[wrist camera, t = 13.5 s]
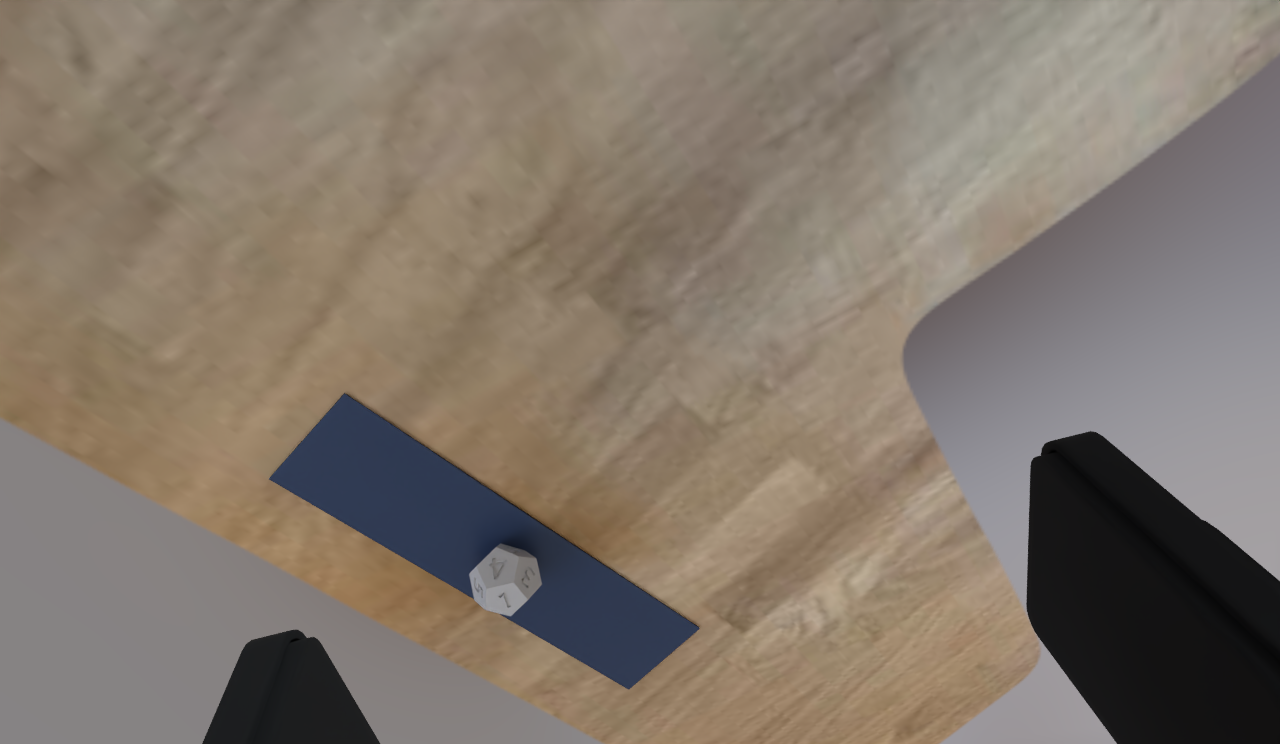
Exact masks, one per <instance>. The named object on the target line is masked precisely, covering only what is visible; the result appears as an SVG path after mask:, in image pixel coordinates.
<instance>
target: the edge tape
mask: <svg viewBox="0 0 1280 744" xmlns="http://www.w3.org/2000/svg"><path fill="white" fill-rule="evenodd" d="M269 479H270V480H271V481H273V482H275V483H277V484H278V485H280V486H282V487H283V488H285V489H287V490H289V491H290V492H292V493H294V494H295V495H297V496H299V497H301V498H302V499H304V500H306V501H307V502H309V503H311V504H312V505H314V506H316V507H318V508H319V509H321V510H323V511H324V512H326V513H328V514H330V515H331V516H333V517H335V518H336V519H338V520H340V521H342V522H343V523H345V524H347V525H348V526H350V527H352V528H354V529H355V530H357V531H359V532H360V533H362V534H364V535H365V536H367V537H369V538H371V539H372V540H374V541H376V542H377V543H379V544H381V545H383V546H384V547H386V548H388V549H389V550H391V551H393V552H395V553H396V554H398V555H400V556H401V557H403V558H405V559H407V560H408V561H410V562H412V563H413V564H415V565H417V566H419V567H420V568H422V569H424V570H425V571H427V572H429V573H430V574H432V575H434V576H436V577H437V578H439V579H441V580H442V581H444V582H446V583H448V584H449V585H451V586H453V587H454V588H456V589H458V590H460V591H461V592H463V593H465V594H466V595H468V596H470V597H472V598H473V599H474V596H473V591H472V586H471V581H470V576H469V574H470V572H471V571H472V570H473V569H474V568H475V567H476V566H477V565H478V564H479V563H480V562H481V561H482V560H483V559H484V558H485V557H486V556H487V555H489V554H490V553H491V552H492V551H493V550H494V549H495V548H496V547H497V546H498V545H499V544H500V543H501V544H504V545H508V546H511V547H515V548H518V549H522V550H525V551H526V552H528V553H529V554H531V555H532V556H534V557H535V558H536V559H537V563H538V568H539V573H540V577H541V582H542V585H541V586H540V587H539V588H538V589H537V591H536V592H535V593H534V594H533V595H532V596H531V597H530V598H529V600H528V601H526V602H525V603H524V604H523V605H522V606H521V607H520V608H519V609H518V610H517V611H516V612H515V613H514V614H513V615H512V616H507V615H503V614H501V615H502V616H504V617H506V618H507V619H509V620H511V621H513V622H514V623H516V624H518V625H519V626H521V627H523V628H525V629H526V630H528V631H530V632H531V633H533V634H535V635H536V636H538V637H540V638H542V639H543V640H545V641H547V642H548V643H550V644H552V645H554V646H555V647H557V648H559V649H560V650H562V651H564V652H566V653H567V654H569V655H571V656H572V657H574V658H576V659H578V660H579V661H581V662H583V663H584V664H586V665H588V666H590V667H591V668H593V669H595V670H596V671H598V672H600V673H601V674H603V675H605V676H607V677H608V678H610V679H612V680H613V681H615V682H617V683H619V684H620V685H622V686H624V687H625V688H627V689H630V688H631V687H632V686H633V685H635V684H636V683H637V682H638V681H639V680H640V679H642V678H643V677H644V676H645V675H646V674H647V673H649V672H650V671H651V670H652V669H653V668H654V667H656V666H657V665H658V664H659V663H660V662H661V661H663V660H664V659H665V658H666V657H667V656H668V655H670V654H671V653H672V652H673V651H674V650H675V649H676V648H678V647H679V646H680V645H681V644H682V643H683V642H685V641H686V640H687V639H688V638H689V637H690V636H692V635H693V634H694V633H695V632H696V631H697V630H699V627H697V626H696V625H694V624H693V623H691V622H690V621H688V620H687V619H685V618H684V617H682V616H681V615H679V614H678V613H676V612H675V611H673V610H672V609H670V608H669V607H667V606H666V605H664V604H663V603H661V602H660V601H658V600H657V599H655V598H654V597H652V596H651V595H649V594H647V593H646V592H644V591H643V590H641V589H640V588H638V587H637V586H635V585H634V584H632V583H631V582H629V581H628V580H626V579H625V578H623V577H622V576H620V575H619V574H617V573H616V572H614V571H613V570H611V569H610V568H608V567H607V566H605V565H604V564H602V563H601V562H599V561H598V560H596V559H595V558H593V557H591V556H590V555H588V554H587V553H585V552H584V551H582V550H581V549H579V548H578V547H576V546H575V545H573V544H572V543H570V542H569V541H567V540H566V539H564V538H563V537H561V536H560V535H558V534H557V533H555V532H554V531H552V530H551V529H549V528H548V527H546V526H545V525H543V524H542V523H540V522H539V521H537V520H535V519H534V518H532V517H531V516H529V515H528V514H526V513H525V512H523V511H522V510H520V509H519V508H517V507H516V506H514V505H513V504H511V503H510V502H508V501H507V500H505V499H504V498H502V497H501V496H499V495H498V494H496V493H495V492H493V491H492V490H490V489H489V488H487V487H486V486H484V485H483V484H481V483H479V482H478V481H476V480H475V479H473V478H472V477H470V476H469V475H467V474H466V473H464V472H463V471H461V470H460V469H458V468H457V467H455V466H454V465H452V464H451V463H449V462H448V461H446V460H445V459H443V458H442V457H440V456H439V455H437V454H436V453H434V452H433V451H431V450H430V449H428V448H427V447H425V446H423V445H422V444H420V443H419V442H417V441H416V440H414V439H413V438H411V437H410V436H408V435H407V434H405V433H404V432H402V431H401V430H399V429H398V428H396V427H395V426H393V425H392V424H390V423H389V422H387V421H386V420H384V419H383V418H381V417H380V416H378V415H377V414H375V413H374V412H372V411H371V410H369V409H368V408H366V407H364V406H363V405H361V404H360V403H358V402H357V401H355V400H354V399H352V398H351V397H349V396H348V395H346V394H345V393H344V394H343V395H342V397H341V398H340V399H339V400H338V401H337V402H336V403H335V405H334V406H333V407H332V408H331V409H330V410H329V411H328V412H327V414H326V415H325V416H324V417H323V418H322V419H321V420H320V421H319V423H318V424H317V425H316V426H315V427H314V428H313V429H312V431H311V432H310V433H309V434H308V435H307V436H306V437H305V438H304V440H303V441H302V442H301V443H300V444H299V445H298V446H297V448H296V449H295V450H294V451H293V452H292V453H291V454H290V455H289V457H288V458H287V459H286V460H285V461H284V462H283V463H282V464H281V466H280V467H279V468H278V469H277V470H276V471H275V472H274V474H273V475H272V476H271V477H270V478H269Z"/></svg>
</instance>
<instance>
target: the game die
mask: <svg viewBox="0 0 1280 744" xmlns="http://www.w3.org/2000/svg"><path fill="white" fill-rule="evenodd" d="M469 576H470V581H471V586H472V591H473V596H474V600H475V601H476V602H477V603H478V604H479V605H480V606H481V607H483V608H484V609H485V610H487V611H491V612H495V613H499V614H503V615H507V616H512V615H513V614H514V613H515V612H516V611H517V610H518V609H519V608H520V607H521V606H522V605H523V604H524V603H525V602H526V601H528V600H529V598H530V597H531V596H532V595H533V594H534V593H535V592H536V591H537V589H538V588H539V587H540V586H541V585H542V582H541V577H540V573H539V568H538V563H537V559H536V558H535V557H534V556H532V555H531V554H529V553H528V552H526V551H525V550H522V549H518V548H515V547H511V546H508V545H504V544H501V543H500V544H499V545H498V546H497V547H496V548H495V549H494V550H493V551H492V552H491V553H490V554H489V555H487V556H486V557H485V558H484V559H483V560H482V561H481V562H480V563H479V564H478V565H477V566H476V567H475V568H474V569H473V570H472V571H471V572H470V574H469Z"/></svg>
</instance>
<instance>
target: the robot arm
mask: <svg viewBox="0 0 1280 744" xmlns="http://www.w3.org/2000/svg"><path fill="white" fill-rule="evenodd" d="M1027 575H1028V576H1027V612H1028V617H1029V619H1030V622H1031V625H1032V627H1033V629H1034V631H1035V632H1036V634H1037V635H1038V637H1039V638H1040V640H1041V641H1042V642H1043V644H1044V645H1045V646H1046V648H1047V649H1048V650H1049V652H1050V653H1051V655H1052V656H1053V657H1054V659H1055V660H1056V661H1057V663H1058V664H1059V665H1060V667H1061V668H1062V669H1063V671H1064V672H1065V674H1066V675H1067V676H1068V678H1069V679H1070V680H1071V682H1072V683H1073V684H1074V686H1075V687H1076V688H1077V690H1078V691H1079V693H1080V694H1081V695H1082V697H1083V698H1084V699H1085V701H1086V702H1087V703H1088V705H1089V706H1090V707H1091V709H1092V710H1093V711H1094V713H1095V714H1096V716H1097V717H1098V718H1099V720H1100V721H1101V722H1102V724H1103V725H1104V726H1105V727H1106V729H1107V730H1108V732H1109V733H1110V734H1111V736H1112V737H1113V739H1114V740H1115V741H1116V743H1117V744H1280V581H1279V580H1277V579H1276V578H1275V577H1274V576H1273V575H1272V574H1270V573H1269V572H1268V571H1267V570H1266V569H1264V568H1263V567H1262V566H1261V565H1260V564H1258V563H1257V562H1256V561H1255V560H1254V559H1253V558H1251V557H1250V556H1249V555H1248V554H1247V553H1245V552H1244V551H1243V550H1242V549H1241V548H1240V547H1238V546H1237V545H1236V544H1235V543H1233V542H1232V541H1231V540H1230V539H1229V538H1228V537H1226V536H1225V535H1224V534H1223V533H1221V532H1220V531H1219V530H1218V529H1217V528H1215V527H1214V526H1212V525H1210V524H1209V523H1207V522H1206V521H1204V520H1201V519H1200V518H1199V517H1198V516H1196V515H1195V514H1194V513H1193V512H1192V511H1191V510H1189V509H1188V508H1187V507H1186V506H1184V505H1183V504H1182V503H1181V502H1180V501H1179V500H1177V499H1176V498H1175V497H1174V496H1173V495H1172V494H1170V493H1169V492H1168V491H1167V490H1166V489H1164V488H1163V487H1162V486H1161V485H1160V484H1159V483H1157V482H1156V481H1155V480H1154V479H1153V478H1151V477H1150V476H1149V475H1148V474H1147V473H1145V472H1144V471H1143V470H1142V469H1141V468H1140V467H1138V466H1137V465H1136V464H1135V463H1134V462H1133V461H1131V460H1130V459H1129V458H1128V457H1126V456H1125V455H1124V454H1123V453H1122V452H1121V451H1120V450H1118V449H1117V448H1116V447H1115V446H1114V445H1112V444H1111V443H1110V442H1109V441H1108V440H1107V439H1105V438H1104V437H1103V436H1101V435H1100V434H1098V433H1096V432H1091V431H1090V432H1086V433H1082V434H1078V435H1074V436H1070V437H1066V438H1062V439H1058V440H1054V441H1050V442H1048V443H1046V444H1044V446H1043V448H1042V453H1041V456H1038V457H1035V458H1033V460H1032V462H1031V473H1030V508H1029V539H1028V573H1027ZM202 744H380V743H379V741H378V739H377V738H376V736H375V734H374V732H373V731H372V729H371V727H370V726H369V724H368V722H367V721H366V719H365V717H364V715H363V714H362V712H361V710H360V709H359V707H358V705H357V704H356V702H355V700H354V699H353V697H352V695H351V693H350V692H349V690H348V688H347V687H346V685H345V683H344V682H343V680H342V678H341V676H340V675H339V673H338V672H337V670H336V668H335V666H334V665H333V663H332V661H331V660H330V658H329V656H328V654H327V653H326V651H325V649H324V648H323V646H322V644H321V643H320V642H319V640H318V639H316V638H315V637H310V638H306V637H305V635H304V634H303V633H302V632H300V631H299V630H291V631H286V632H282V633H278V634H274V635H270V636H266V637H263V638H258V639H254V640H251V641H250V642H248V643H247V644H246V645H245V647H244V649H243V650H242V652H241V654H240V657H239V659H238V662H237V664H236V666H235V668H234V671H233V673H232V676H231V678H230V680H229V683H228V685H227V687H226V690H225V692H224V694H223V697H222V699H221V701H220V704H219V706H218V708H217V711H216V713H215V715H214V718H213V720H212V722H211V725H210V727H209V729H208V732H207V734H206V736H205V739H204V741H203V743H202Z"/></svg>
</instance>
